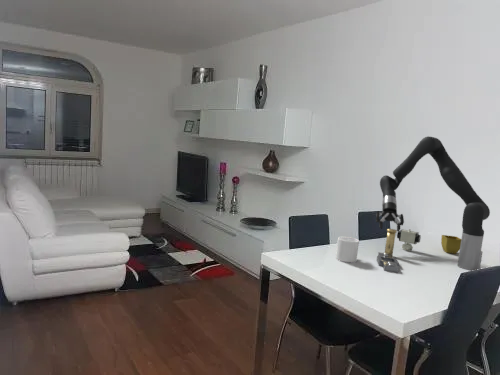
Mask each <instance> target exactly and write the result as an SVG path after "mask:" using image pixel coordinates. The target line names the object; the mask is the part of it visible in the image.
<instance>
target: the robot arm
mask: <svg viewBox="0 0 500 375" xmlns="http://www.w3.org/2000/svg"><path fill="white" fill-rule="evenodd" d="M427 155H430V156H431V157H432V159H433V160H434V161H435V163H436V165H437V167H438V170H439V171H438V172H439V174H440V176H441V179H442V180H443V181H444V183H445V185H447V187H448V188H449V189H450V190H451V191H452V192H454V194H456V195H457V196H458V197H459V198H461V200H462V201H463V202H464V204H465V207H464V209H463V214H462V223H461V227H462V233H461V238H460V239H461V245H460V250H459V251H458V253H459V254H458V258H457V267H459V268H461V269H465V270H468V271H476V270H475V269H480V270H481V265H482V259H483V251H482V247H483V242H484V235H485V231H484V228H483V222H484V221H485V220H487V219H489V217H490V213H491V210H490V208H489V206H488V204H487V203H486V202H484V200H483V199H482V198H481V197H480V195H479V194H478V193H477V192H476V191H475V189H474V188H473V187H472V185H471V183H470V182H469V181H468V179H467V178H466V176H465V175H464V173H463V171H462V170H461V169H460V168H459V167H458V165H457V164H456V162H454V160H453V159H452V158H451V157H450V155H449V154H448V152H447V149H446V148H445V147H444V145H443V143H442V141H441V140H440V139H439V138H437V137H433V136H429V135H428V136H425V137H423V138H422V139H421V140H420V141H419V142H418V144H417V145H416V146H415V148H414V149H413V150H412V151H411V153H409V155H408V156H407V157H406V158H405V159H404V160H403V161H402V162H401V163H400V164H398V166H397V167H396V168H395V169H394V170H393V171H392V175H393V176H394V177H395V178H392V177H391V176H389V175H383V176H382V177H380V180H379V186H380V190H381V192H382V204H381V206H382V207H381V208H382V210H381V212H380V211H379V210H377V212H376V218H375V223H378V224H379V229H380V230H383V226H384V224H383V223H384V222H385V221H386V222H393V223H394V224H395V225H396V230H397V232H398V231H400V230H401V226H403V225H404V223H405V220H404V219H405V218H404V214H403V213H401V214H398V210H397V208H398V207H397V193H396V190H397V189H398V188H399V186H400V184H401V183H402V182H403V180H404V179H405V178H406V177H407V176H408V175H409V174H410V173H411V172H412V171H413V170H414V168H415V167H416V165H417V163H418V162H419V161H420V160H421V159H423V157H425V156H427ZM380 217H382V218H381V219H380Z"/></svg>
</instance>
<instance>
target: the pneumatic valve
mask: <svg viewBox="0 0 500 375" xmlns="http://www.w3.org/2000/svg"><path fill="white" fill-rule="evenodd" d="M396 234H397V235H396V238H397V240H398V241H399V242H403V243H402V245H401V248H402V250H403V251H406V252H410V251H412V250H413V248H414V246H413V245H416V244H419V243H420V242H421V239H422V238H421V237H422V236H421V234H420V233H419V232H418V231H413V230H411V229H400V230H399V231H397V232H396Z"/></svg>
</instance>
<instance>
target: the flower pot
mask: <svg viewBox="0 0 500 375" xmlns="http://www.w3.org/2000/svg"><path fill="white" fill-rule="evenodd" d="M461 239H462V238H460V237H458V236H455V235H454V236H453V235H447V234H446V235H445V234H441V248H442V250H443V251H444V252H445V253H447V254H453V255H456V254H458V253H459V251H460V245H461Z"/></svg>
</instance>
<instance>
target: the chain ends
mask: <svg viewBox="0 0 500 375" xmlns="http://www.w3.org/2000/svg"><path fill="white" fill-rule="evenodd" d="M376 263H377V264H378V266H379V267H381V268H382V269H383V271H386V272H391V273H392V272H393V273H399V268H400V262H399V261H398V259H397V258H396V257H393V256H391V254H387V253H385V252H378V253H377V256H376Z"/></svg>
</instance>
